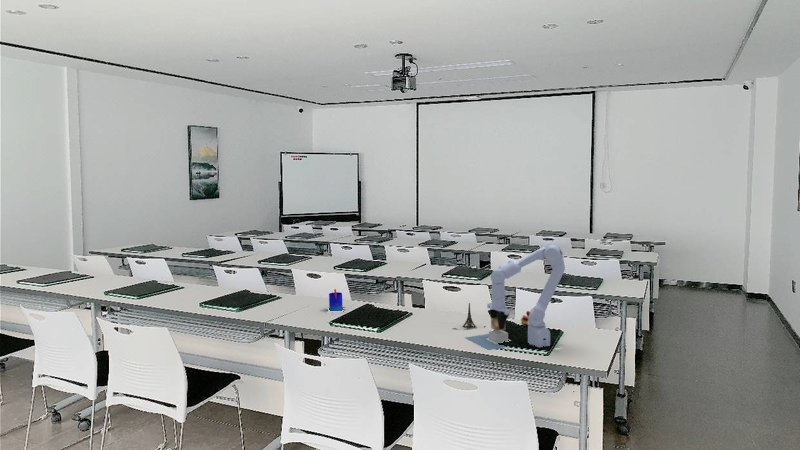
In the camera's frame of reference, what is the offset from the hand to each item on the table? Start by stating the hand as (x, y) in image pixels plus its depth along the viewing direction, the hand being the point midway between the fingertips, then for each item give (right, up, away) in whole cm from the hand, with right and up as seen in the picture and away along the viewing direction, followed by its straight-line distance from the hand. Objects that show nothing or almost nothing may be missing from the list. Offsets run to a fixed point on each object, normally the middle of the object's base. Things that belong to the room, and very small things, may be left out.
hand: (498, 327), depth 249 cm
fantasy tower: (-78, -3, +63) cm, 100 cm away
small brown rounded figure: (+21, -4, +28) cm, 35 cm away
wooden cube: (0, -1, 0) cm, 1 cm away
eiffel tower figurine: (-10, -5, +25) cm, 27 cm away
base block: (0, -6, +1) cm, 6 cm away
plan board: (-3, -7, -1) cm, 7 cm away
